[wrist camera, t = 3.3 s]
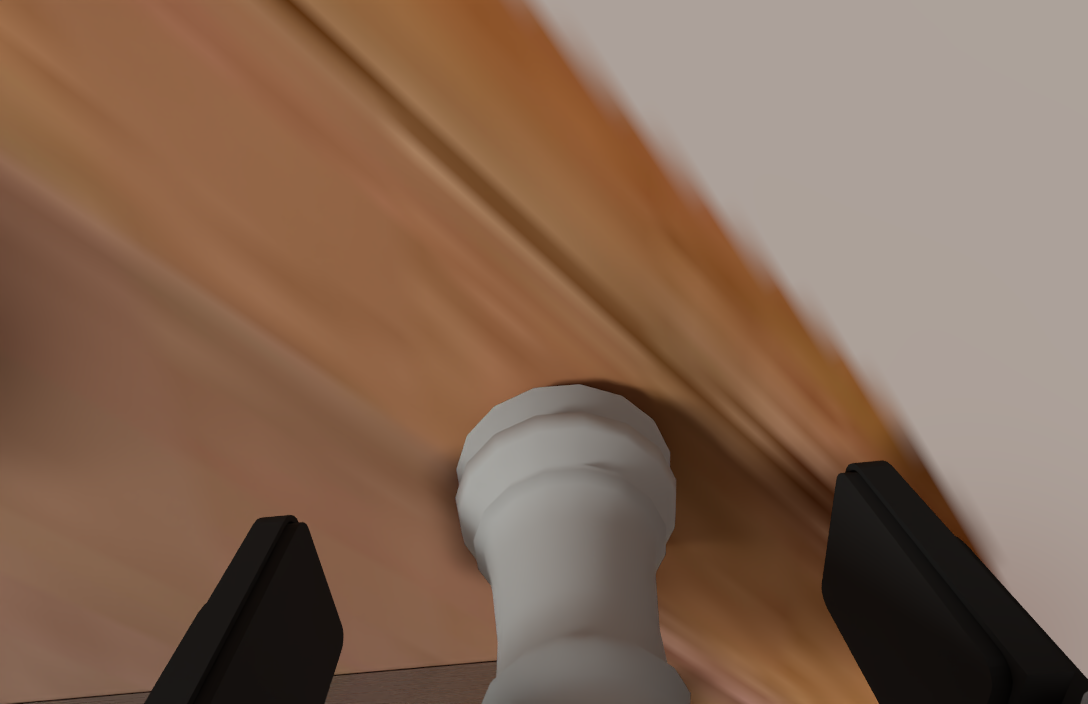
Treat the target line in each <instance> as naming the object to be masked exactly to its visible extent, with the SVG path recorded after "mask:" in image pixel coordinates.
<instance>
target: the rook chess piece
mask: <svg viewBox="0 0 1088 704" xmlns="http://www.w3.org/2000/svg"><path fill="white" fill-rule="evenodd" d="M456 470H457V476H458V482H459V488H458V491H457V494H456V497H455V499H456V504H457V510H458V515H459V521H460V526H461V532H462V535H463V539H464V543H465V545H466V547H467V548H468V549H469V551H470V552H471V553H472V555H473V556H474V557H475V558H476V560H477V564H478V569H479V571H480V572H481V573H482V575H483V576H484V577H485V579H486V580H487V581H488V582H489V584H490V585H491V588H492V591H493V600H494V610H495V619H496V629H497V639H498V652H497V672H496V678H495V679H494V680H493V681H492V682H491V683H490V685H489V687H488V690H487V692H486V694H485V697H484V699H483V701H482V704H690V694H691V693H690V692H689V690H688V689H687V687H686V685H685V684H684V682H683V681H682V679H681V677H680V676H679V674H678V673H677V671H676V670H675V668H673V667H672V666H670V665H669V664H668V663H667V660H666V655H665V651H664V647H663V642H662V638H661V634H660V628H659V614H658V601H657V587H656V571H657V569H658V568H659V566H660V564H661V562H662V560H663V558H664V556H665V555H666V543H667V541H668V539H669V537H670V535H671V534H672V532H673V530H674V528H675V516H676V478H675V476H674V475H673V473H672V471H671V469H670V451H669V449H668V447H667V445H666V443H665V441H664V439H663V437H662V435H661V433H660V431H659V429H658V427H657V425H656V423H655V421H654V420H653V419H652V418H650V417H649V416H648V415H647V414H645V413H644V412H643V411H641V410H640V409H639V408H637V407H636V406H635V405H633V404H632V403H631V402H629V401H628V400H627V399H626V398H624V397H623V396H621V395H617V394H614V393H610V392H606V391H603V390H599V389H595V388H592V387H588V386H584V385H581V384H576V385H564V386H552V387H540V388H533V389H531V390H529V391H527V392H524V393H522V394H520V395H518V396H516V397H514V398H511V399H509V400H507V401H505V402H503V403H501V404H498V405H496V406H494V407H493V408H492V409H491V411H490V412H489V413H488V414H487V415H486V416H485V417H484V418H483V419H482V420H481V421H480V422H479V423H478V424H477V425H476V427H475V428H474V429H473V430H472V431H471V432H470V433H469V434H468V435H467V438H466V441H465V444H464V447H463V450H462V453H461V457H460V460H459V463H458V466H457V469H456Z"/></svg>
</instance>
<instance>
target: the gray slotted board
mask: <svg viewBox="0 0 1088 704" xmlns="http://www.w3.org/2000/svg"><path fill="white" fill-rule="evenodd" d="M496 672H497V662H487V663H476V664H465V665H454V666H442V667H431V668H420V669H408V670H397V671H386V672H375V673H363V674H352V675H341V676H333V678H332V682H331V685H330V688H329V691H328V694H327V697H326V701H325V704H482V701H483V699H484V697H485V694H486V692H487V690H488V687H489V685H490V683H491V682H492V681H493V680H494V679H495V678H496ZM150 693H151V692H149V693H138V694H126V695H115V696H104V697H92V698H81V699H70V700H59V701H47V702H36V703H25V704H144V703H145V701H146V699H147V698H148V696H149V694H150Z"/></svg>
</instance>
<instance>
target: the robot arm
mask: <svg viewBox="0 0 1088 704" xmlns="http://www.w3.org/2000/svg"><path fill="white" fill-rule="evenodd" d="M822 594H823V599H824V602H825V604H826V607H827V609H828V611H829V612H830V614H831V616H832V618H833V620H834V622H835V623H836V625H837V627H838V629H839V631H840V633H841V634H842V636H843V638H844V640H845V642H846V644H847V645H848V647H849V649H850V651H851V653H852V655H853V656H854V658H855V660H856V662H857V664H858V666H859V667H860V669H861V671H862V673H863V675H864V677H865V679H866V680H867V682H868V684H869V686H870V688H871V690H872V691H873V693H874V695H875V697H876V699H877V701H878V702H879V704H1088V679H1087V678H1086V677H1085V676H1084V675H1083V673H1081V671H1080V670H1079V669H1078V668H1077V667H1076V666H1075V665H1074V664H1073V662H1072V661H1071V660H1070V659H1069V658H1068V657H1067V656H1066V655H1065V654H1064V652H1063V651H1062V650H1061V649H1060V648H1059V647H1058V646H1057V645H1056V644H1055V642H1054V641H1053V640H1052V639H1051V638H1050V637H1049V636H1048V635H1047V634H1046V632H1045V631H1044V630H1043V629H1042V628H1041V627H1040V626H1039V625H1038V624H1037V623H1036V621H1035V620H1034V619H1033V618H1032V617H1031V616H1030V615H1029V614H1028V612H1027V611H1026V610H1025V609H1024V608H1023V607H1022V606H1021V605H1020V604H1019V603H1018V601H1017V600H1016V599H1015V598H1014V597H1013V596H1012V595H1011V594H1010V593H1009V591H1008V590H1007V589H1006V588H1005V587H1004V586H1003V585H1002V584H1001V583H1000V581H999V580H998V579H997V578H996V577H995V576H994V575H993V574H992V573H991V571H990V570H989V569H988V568H987V567H986V566H985V565H984V564H983V563H982V561H981V560H980V559H979V558H978V557H977V556H976V555H975V554H974V553H973V551H972V550H971V549H970V548H969V547H968V546H967V545H966V544H965V543H964V542H963V541H962V540H960V539H959V538H958V537H956V536H954V535H953V534H952V532H951V531H950V530H949V529H948V528H947V527H946V526H945V525H944V523H943V522H942V521H941V520H940V519H939V518H938V517H937V516H936V515H935V513H934V512H933V511H932V510H931V509H930V508H929V507H928V506H927V504H926V503H925V502H924V501H923V500H922V499H921V498H920V497H919V496H918V494H917V493H916V492H915V491H914V490H913V489H912V488H911V487H910V485H909V484H908V483H907V482H906V481H905V480H904V479H903V478H902V476H901V475H900V474H899V473H898V472H897V471H896V470H895V469H894V468H893V466H892V465H890V464H889V463H888V462H886V461H873V462H862V463H852V464H849V465H848V467H847V468H846V472H845V473H840V474H839V475H838V476H837V480H836V487H835V494H834V501H833V508H832V515H831V522H830V529H829V536H828V543H827V550H826V558H825V565H824V572H823V579H822ZM342 646H343V628H342V624H341V621H340V619H339V616H338V613H337V610H336V607H335V604H334V601H333V598H332V595H331V592H330V589H329V587H328V584H327V581H326V578H325V575H324V572H323V569H322V566H321V563H320V560H319V557H318V555H317V552H316V549H315V546H314V543H313V540H312V537H311V534H310V531H309V528H308V526H307V525H306V524H305V523H303V522H301V523H299V522H298V520H297V518H296V517H295V516H293V515H285V516H275V517H264V518H259V519H257V520H256V522H255V523H254V524H253V526H252V527H251V529H250V531H249V532H248V534H247V536H246V538H245V539H244V541H243V543H242V544H241V546H240V548H239V549H238V551H237V553H236V554H235V556H234V558H233V559H232V561H231V563H230V565H229V566H228V568H227V570H226V571H225V573H224V575H223V576H222V578H221V580H220V581H219V583H218V585H217V586H216V588H215V590H214V592H213V593H212V595H211V597H210V598H209V600H208V602H207V603H206V604H205V605H204V606H203V607H202V609H201V610H200V611H199V612H198V614H197V616H196V617H195V619H194V621H193V622H192V624H191V626H190V627H189V629H188V631H187V632H186V634H185V636H184V637H183V639H182V641H181V642H180V644H179V646H178V647H177V649H176V651H175V652H174V654H173V656H172V657H171V659H170V661H169V662H168V664H167V666H166V667H165V669H164V671H163V672H162V674H161V676H160V677H159V679H158V681H157V682H156V684H155V686H154V688H153V689H152V691H151V693H150V694H149V696H148V698H147V699H146V701H145V703H144V704H325V701H326V697H327V694H328V691H329V688H330V685H331V682H332V678H333V675H334V672H335V669H336V666H337V663H338V660H339V656H340V653H341V650H342Z"/></svg>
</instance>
